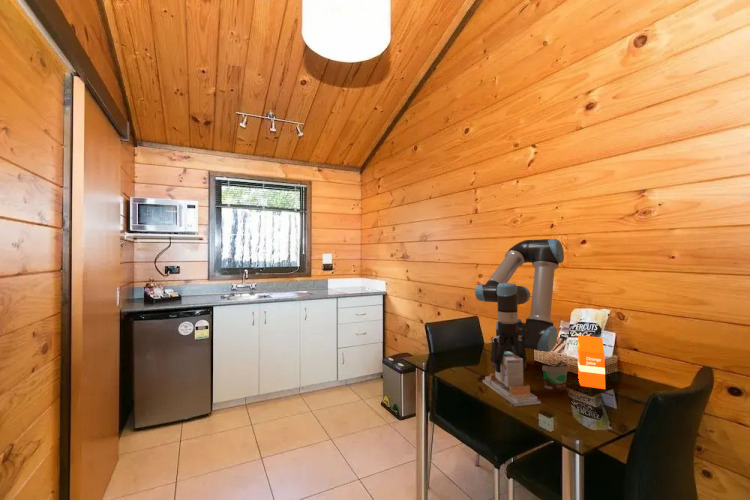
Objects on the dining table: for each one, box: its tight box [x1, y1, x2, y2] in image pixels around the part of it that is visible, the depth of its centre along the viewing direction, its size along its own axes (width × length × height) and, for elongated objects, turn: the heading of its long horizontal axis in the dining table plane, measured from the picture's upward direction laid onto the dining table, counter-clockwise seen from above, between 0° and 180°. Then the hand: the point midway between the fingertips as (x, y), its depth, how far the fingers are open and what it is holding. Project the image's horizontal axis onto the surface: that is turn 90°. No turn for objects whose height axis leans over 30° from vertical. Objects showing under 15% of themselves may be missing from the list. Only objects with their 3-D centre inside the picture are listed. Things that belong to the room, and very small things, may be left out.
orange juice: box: [577, 335, 606, 390], centre depth 140 cm, size 8×9×20 cm
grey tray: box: [482, 372, 542, 407], centre depth 132 cm, size 10×24×5 cm, turn 11°
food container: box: [541, 360, 570, 393], centre depth 134 cm, size 12×6×10 cm, turn 117°
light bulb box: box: [495, 351, 524, 387], centre depth 133 cm, size 11×7×11 cm, turn 5°
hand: (509, 379), depth 132 cm, fingers closed on light bulb box, 7 cm apart
